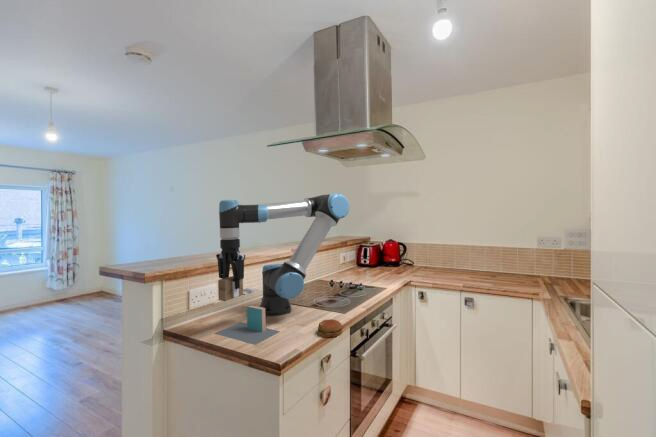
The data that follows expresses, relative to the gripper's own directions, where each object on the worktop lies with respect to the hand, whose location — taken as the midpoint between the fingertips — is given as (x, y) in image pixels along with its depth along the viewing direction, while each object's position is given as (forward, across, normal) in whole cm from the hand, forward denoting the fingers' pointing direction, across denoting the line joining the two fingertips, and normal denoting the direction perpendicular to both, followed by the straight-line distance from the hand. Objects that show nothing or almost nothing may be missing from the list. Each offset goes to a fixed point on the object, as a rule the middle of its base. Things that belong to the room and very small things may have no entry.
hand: (231, 296), depth 125 cm
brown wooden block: (+1, 0, -4) cm, 4 cm away
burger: (+15, -37, -14) cm, 42 cm away
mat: (+14, -7, 0) cm, 16 cm away
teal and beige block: (+14, -9, -4) cm, 17 cm away
